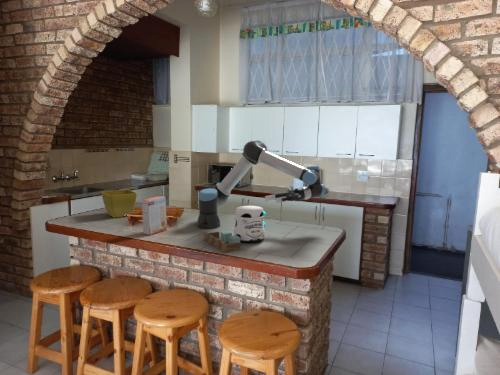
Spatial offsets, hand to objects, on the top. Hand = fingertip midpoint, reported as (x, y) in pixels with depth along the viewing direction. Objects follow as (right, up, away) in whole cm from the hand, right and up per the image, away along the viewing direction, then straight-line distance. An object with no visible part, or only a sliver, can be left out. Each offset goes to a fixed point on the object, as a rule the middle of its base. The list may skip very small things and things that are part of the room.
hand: (270, 199), depth 205 cm
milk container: (-12, -23, -4) cm, 26 cm away
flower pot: (-105, -13, +49) cm, 116 cm away
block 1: (-25, -23, -6) cm, 34 cm away
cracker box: (-69, -20, +8) cm, 72 cm away
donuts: (-7, -18, +24) cm, 31 cm away
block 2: (-20, -24, -14) cm, 34 cm away
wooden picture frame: (-28, -24, -14) cm, 39 cm away
